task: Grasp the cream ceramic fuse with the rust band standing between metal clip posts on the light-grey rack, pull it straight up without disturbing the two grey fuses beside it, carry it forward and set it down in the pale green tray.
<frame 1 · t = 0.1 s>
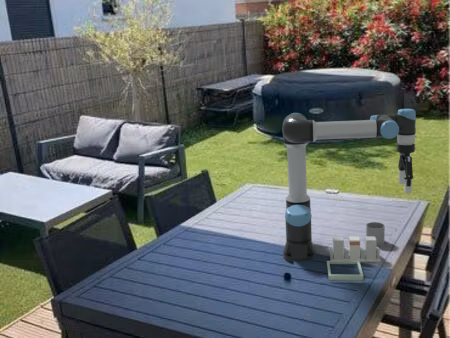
hand: (404, 188, 229), 28 cm above the table, fingers open, 13 cm apart
rack: (354, 260, 223), on the table
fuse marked: (354, 257, 222), point 1 cm above the table, touching rack
cup: (375, 245, 237), on the table
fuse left: (338, 257, 224), point 1 cm above the table, touching rack
tray: (344, 273, 211), on the table
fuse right: (370, 257, 221), point 1 cm above the table, touching rack
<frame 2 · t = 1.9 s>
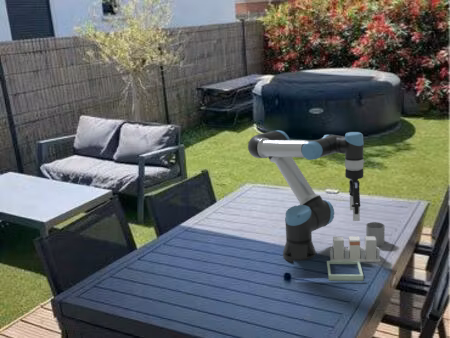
hand: (354, 215, 217), 22 cm above the table, fingers open, 13 cm apart
nothing on the table moved.
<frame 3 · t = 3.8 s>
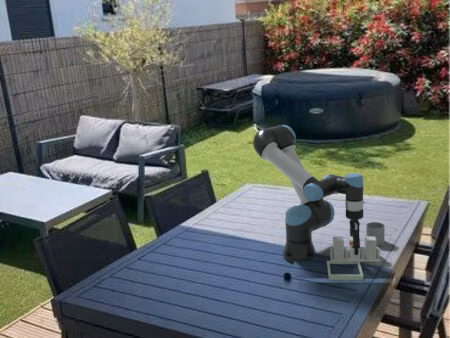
hand: (354, 255, 221), 3 cm above the table, fingers open, 11 cm apart
nothing on the table moved.
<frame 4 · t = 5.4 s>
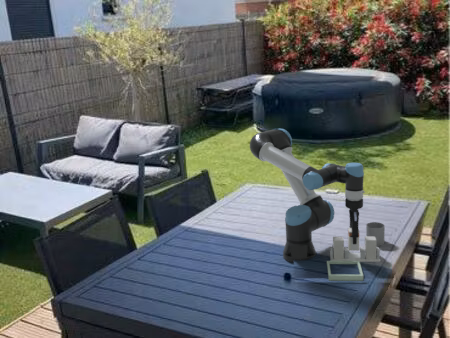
hand: (353, 247, 222), 6 cm above the table, fingers closed on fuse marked, 4 cm apart
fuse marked: (353, 248, 222), point 6 cm above the table, touching gripper
everything else where it was.
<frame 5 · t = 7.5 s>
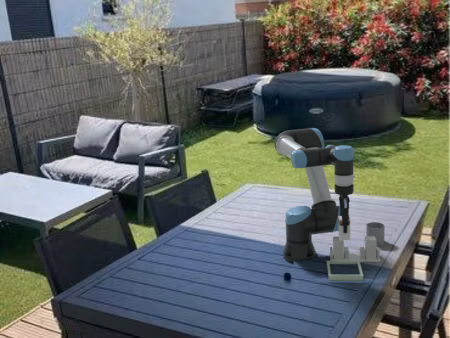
hand: (344, 237, 207), 17 cm above the table, fingers closed on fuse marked, 4 cm apart
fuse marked: (344, 238, 207), point 16 cm above the table, touching gripper
everything else where it was.
when the fingers open (3 cm above the table, at t = 10.1 s): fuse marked drops 2 cm, resting on tray.
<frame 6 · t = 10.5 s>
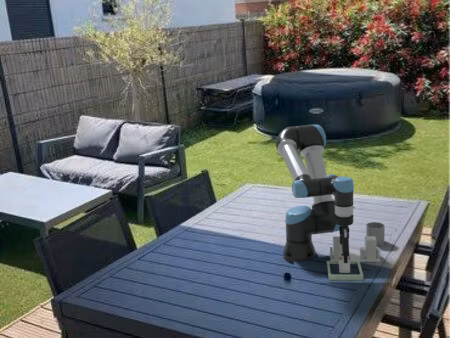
hand: (344, 263, 210), 4 cm above the table, fingers open, 9 cm apart
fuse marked: (344, 272, 211), point 1 cm above the table, touching tray
everything else where it was.
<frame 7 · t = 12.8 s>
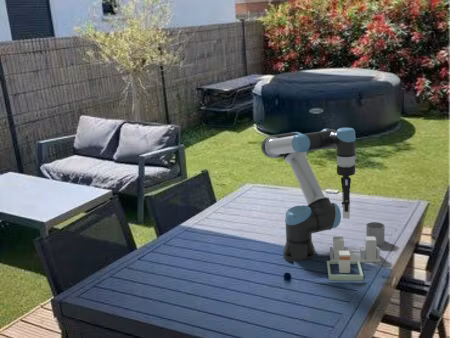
hand: (345, 212, 213), 24 cm above the table, fingers open, 13 cm apart
nothing on the table moved.
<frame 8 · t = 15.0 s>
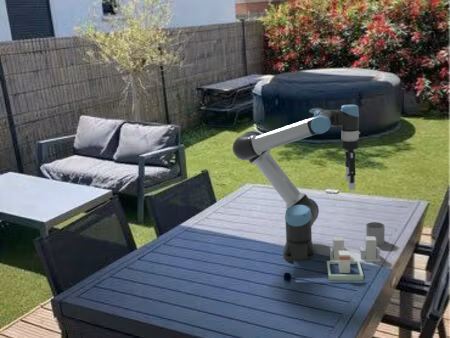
hand: (350, 185, 226), 32 cm above the table, fingers open, 13 cm apart
nothing on the table moved.
at the end: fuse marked inside the target area on the tray (0.2 cm from its centre), point 0.6 cm above the tray's base; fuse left moved 0.0 cm from its start; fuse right moved 0.0 cm from its start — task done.
